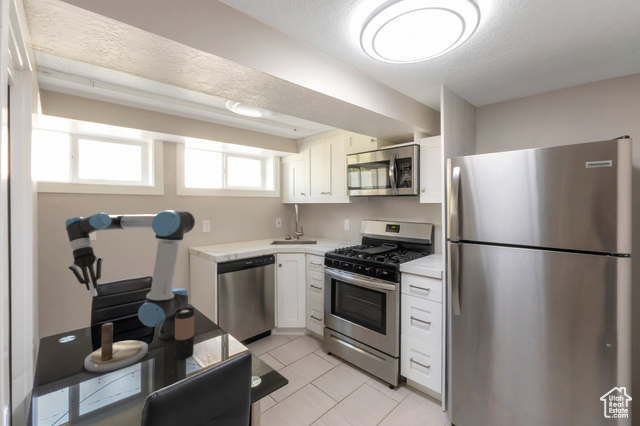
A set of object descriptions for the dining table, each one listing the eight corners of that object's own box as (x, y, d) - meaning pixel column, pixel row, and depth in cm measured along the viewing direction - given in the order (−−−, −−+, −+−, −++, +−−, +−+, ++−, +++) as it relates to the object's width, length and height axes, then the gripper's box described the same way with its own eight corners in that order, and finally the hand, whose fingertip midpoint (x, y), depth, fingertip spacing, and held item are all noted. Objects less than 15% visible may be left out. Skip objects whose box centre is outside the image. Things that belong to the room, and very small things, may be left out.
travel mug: (186, 361, 115) (186, 314, 116) (170, 359, 117) (170, 312, 117) (197, 352, 123) (197, 308, 123) (182, 350, 124) (183, 306, 125)
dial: (108, 343, 126) (108, 311, 126) (150, 341, 128) (150, 309, 129) (79, 365, 108) (79, 327, 108) (128, 362, 110) (128, 325, 110)
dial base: (156, 343, 131) (156, 339, 131) (132, 369, 109) (132, 364, 109) (105, 347, 127) (105, 342, 127) (70, 374, 106) (70, 368, 106)
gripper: (101, 245, 138) (113, 290, 135) (69, 254, 132) (80, 301, 129) (95, 243, 131) (108, 290, 128) (61, 252, 125) (74, 301, 123)
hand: (94, 295), depth 129 cm, fingers closed
